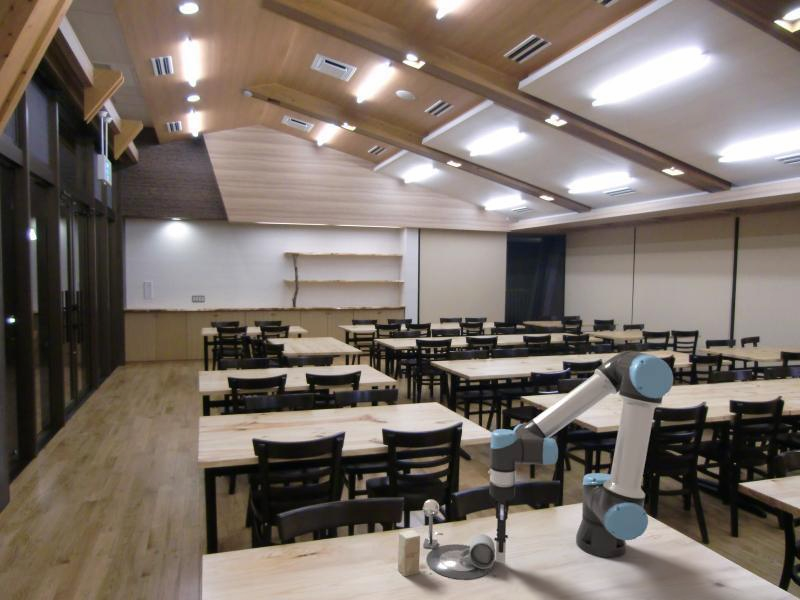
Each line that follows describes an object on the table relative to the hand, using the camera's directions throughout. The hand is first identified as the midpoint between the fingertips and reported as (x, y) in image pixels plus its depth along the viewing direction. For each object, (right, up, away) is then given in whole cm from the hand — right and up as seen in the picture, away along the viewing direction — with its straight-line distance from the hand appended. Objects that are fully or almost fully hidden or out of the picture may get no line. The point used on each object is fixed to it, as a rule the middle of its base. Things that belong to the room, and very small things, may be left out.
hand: (500, 560), depth 157 cm
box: (-27, -2, -4) cm, 28 cm away
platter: (-12, -1, +2) cm, 12 cm away
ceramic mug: (-7, -1, +1) cm, 7 cm away
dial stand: (-20, -1, +12) cm, 24 cm away
